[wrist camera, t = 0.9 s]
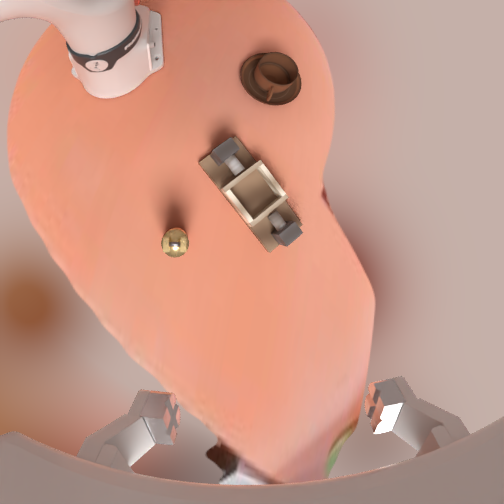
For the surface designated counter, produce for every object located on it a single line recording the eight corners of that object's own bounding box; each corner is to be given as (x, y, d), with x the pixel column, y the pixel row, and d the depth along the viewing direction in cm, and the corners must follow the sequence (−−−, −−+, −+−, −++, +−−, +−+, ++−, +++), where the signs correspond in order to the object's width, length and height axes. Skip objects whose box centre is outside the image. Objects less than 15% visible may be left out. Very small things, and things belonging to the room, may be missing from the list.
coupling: (164, 227, 47) (160, 230, 38) (187, 227, 48) (189, 230, 39) (164, 250, 48) (160, 259, 38) (187, 250, 49) (189, 259, 39)
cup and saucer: (301, 109, 51) (315, 98, 45) (242, 108, 48) (250, 96, 42) (292, 59, 49) (304, 45, 43) (235, 56, 46) (242, 41, 40)
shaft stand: (198, 163, 47) (200, 157, 42) (234, 137, 48) (240, 128, 43) (267, 251, 52) (277, 256, 47) (299, 224, 53) (313, 225, 48)
